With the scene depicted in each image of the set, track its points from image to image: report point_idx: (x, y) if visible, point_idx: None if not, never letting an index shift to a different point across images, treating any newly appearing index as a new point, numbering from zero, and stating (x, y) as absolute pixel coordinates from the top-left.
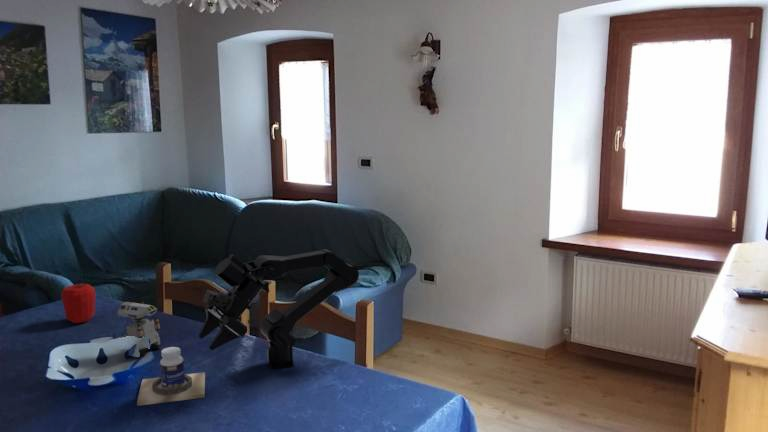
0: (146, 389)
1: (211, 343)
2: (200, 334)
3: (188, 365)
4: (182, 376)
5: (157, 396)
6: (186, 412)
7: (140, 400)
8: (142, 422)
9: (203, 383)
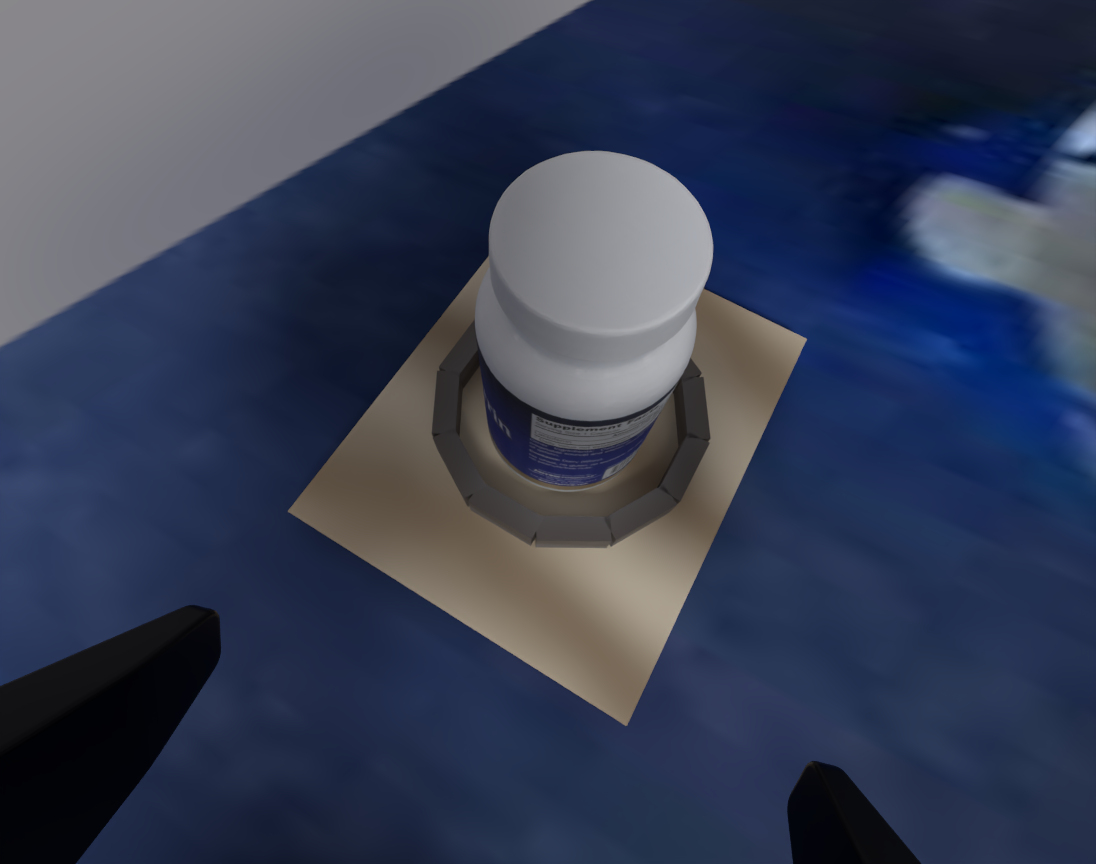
0: None
1: (139, 657)
2: (833, 807)
3: (907, 727)
4: (495, 425)
5: None
6: (234, 346)
7: None
8: (344, 170)
9: (442, 598)
